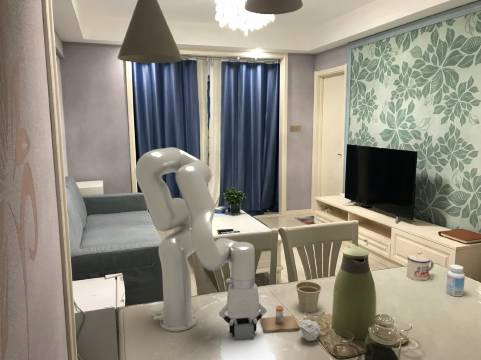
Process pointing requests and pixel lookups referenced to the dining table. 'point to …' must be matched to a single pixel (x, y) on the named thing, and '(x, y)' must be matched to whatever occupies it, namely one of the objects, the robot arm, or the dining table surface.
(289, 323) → the keeper
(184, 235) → the robot arm
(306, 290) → the flower pot
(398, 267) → the dining table surface
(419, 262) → the teacup with lid
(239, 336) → the link
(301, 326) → the crumpled paper ball
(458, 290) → the pill bottle
